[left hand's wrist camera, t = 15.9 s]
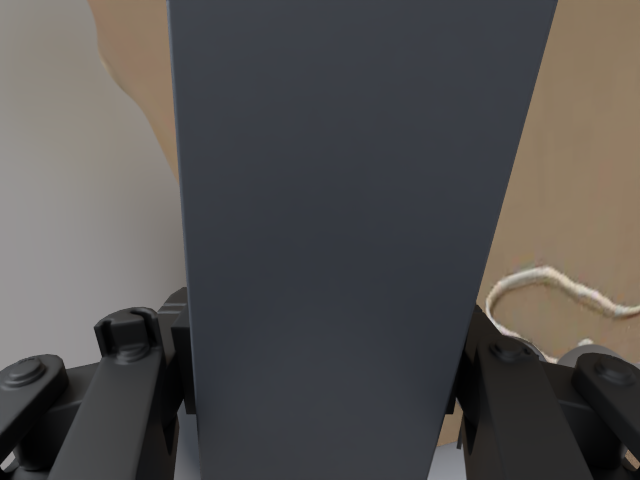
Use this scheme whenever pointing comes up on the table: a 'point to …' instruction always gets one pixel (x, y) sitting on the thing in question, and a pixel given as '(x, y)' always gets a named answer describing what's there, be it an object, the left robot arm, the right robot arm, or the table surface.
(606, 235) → the table surface
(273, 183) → the bar
